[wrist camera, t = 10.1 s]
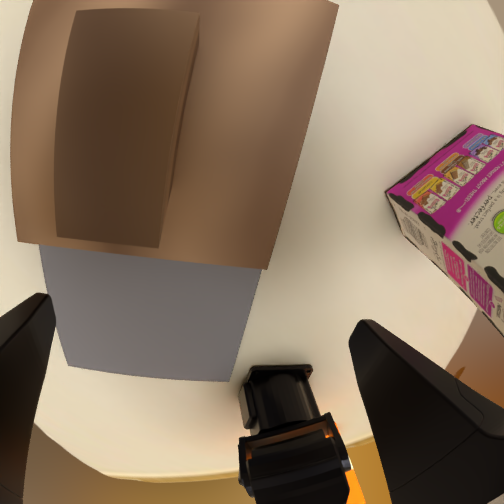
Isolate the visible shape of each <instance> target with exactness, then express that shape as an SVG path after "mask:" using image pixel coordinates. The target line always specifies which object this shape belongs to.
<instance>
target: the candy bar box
mask: <svg viewBox="0 0 504 504" xmlns="http://www.w3.org/2000/svg"><path fill="white" fill-rule="evenodd" d="M386 194H387V197H388V199H389V201H390V204H391V206H392V208H393V210H394V212H395V215H396V218H397V220H398V223H399V226H400V229H401V231H402V233H403V235H404V237H405V238H407V239H408V240H409V241H410V242H411V243H412V244H413V245H414V246H415V247H416V248H418V249H419V250H420V251H421V252H422V253H423V254H424V255H425V256H427V257H428V258H429V259H430V260H431V261H432V262H433V263H434V264H435V265H436V266H437V267H438V268H439V269H440V270H441V271H442V272H443V273H444V274H445V275H446V276H447V277H449V278H450V279H451V280H452V282H453V283H454V284H455V285H456V286H457V287H458V288H459V289H460V290H461V291H462V292H463V293H464V294H465V295H466V296H467V297H468V298H469V299H470V300H471V301H472V302H473V303H474V304H475V305H476V307H477V308H478V309H479V310H480V311H481V312H482V313H483V314H484V315H485V316H486V317H487V318H488V320H489V321H490V322H491V323H492V324H493V325H494V327H495V328H496V329H497V330H498V331H499V332H500V334H501V335H502V336H503V337H504V135H502V134H499V133H496V132H494V131H491V130H488V129H485V128H482V127H480V126H477V125H474V124H473V125H471V126H470V127H469V128H467V129H466V130H465V131H464V132H462V133H461V134H460V135H459V136H457V137H456V138H455V139H454V140H453V141H451V142H450V143H449V144H448V145H446V146H445V147H444V148H443V149H441V150H440V151H439V152H438V153H437V154H435V155H434V156H433V157H432V158H430V159H429V160H428V161H427V162H425V163H424V164H423V165H421V166H420V167H419V168H418V169H416V170H415V171H414V172H412V173H411V174H410V175H409V176H407V177H406V178H405V179H403V180H402V181H401V182H399V183H398V184H397V185H395V186H394V187H393V188H391V189H390V190H389V191H387V192H386Z"/></svg>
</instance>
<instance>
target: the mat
mask: <svg viewBox="0 0 504 504" xmlns="http://www.w3.org/2000/svg"><path fill="white" fill-rule="evenodd" d="M39 248H40V255H41V261H42V267H43V272H44V278H45V283H46V288H47V292H48V294H49V295H50V296H51V298H52V302H53V307H54V311H55V315H56V328H57V332H58V335H59V339H60V342H61V345H62V348H63V352H64V355H65V358H66V361H67V364H68V366H73V367H78V368H84V369H90V370H96V371H102V372H109V373H116V374H124V375H132V376H141V377H151V378H162V379H175V380H191V381H218V382H229V381H230V377H231V374H232V371H233V367H234V364H235V360H236V357H237V354H238V350H239V347H240V344H241V340H242V337H243V333H244V330H245V326H246V323H247V320H248V316H249V313H250V309H251V306H252V302H253V299H254V295H255V292H256V288H257V285H258V281H259V278H260V274H261V271H262V269H253V268H243V267H233V266H223V265H213V264H204V263H194V262H184V261H175V260H166V259H157V258H148V257H139V256H130V255H121V254H113V253H104V252H96V251H87V250H79V249H71V248H63V247H55V246H47V245H39Z"/></svg>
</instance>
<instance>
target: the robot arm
mask: <svg viewBox="0 0 504 504" xmlns="http://www.w3.org/2000/svg"><path fill="white" fill-rule="evenodd" d="M55 327H56V315H55V311H54V307H53V302H52V298H51V296H50V295H49V294H44V293H36V294H34V295H32V296H31V297H29V298H28V299H26V300H25V301H23V302H22V303H20V304H19V305H17V306H16V307H14V308H13V309H11V310H10V311H8V312H7V313H6V314H4V315H3V316H1V317H0V504H23V499H22V498H23V489H24V479H25V470H26V463H27V456H28V450H29V444H30V438H31V432H32V428H33V423H34V418H35V414H36V409H37V405H38V401H39V397H40V393H41V389H42V385H43V382H44V378H45V374H46V370H47V365H48V360H49V355H50V350H51V345H52V340H53V336H54V331H55ZM349 349H350V353H351V357H352V362H353V366H354V370H355V375H356V379H357V384H358V387H359V391H360V394H361V397H362V400H363V403H364V406H365V409H366V413H367V416H368V419H369V422H370V425H371V429H372V432H373V435H374V439H375V442H376V445H377V449H378V452H379V456H380V459H381V463H382V467H383V470H384V474H385V478H386V481H387V485H388V489H389V492H390V497H391V501H392V504H504V409H503V408H502V407H500V406H499V405H497V404H495V403H493V402H492V401H490V400H489V399H487V398H485V397H484V396H482V395H480V394H479V393H477V392H476V391H474V390H472V389H471V388H470V387H468V386H467V385H465V384H464V383H462V382H461V381H460V380H458V379H457V378H454V376H453V375H451V374H449V373H448V372H447V371H445V370H444V369H443V368H441V367H440V366H438V365H437V364H435V363H434V362H433V361H431V360H430V359H428V358H427V357H425V356H424V355H423V354H421V353H420V352H418V351H417V350H415V349H414V348H413V347H411V346H410V345H408V344H407V343H405V342H404V341H403V340H401V339H400V338H398V337H397V336H395V335H394V334H392V333H391V332H390V331H388V330H387V329H385V328H384V327H382V326H381V325H379V324H378V323H376V322H375V321H374V320H371V319H362V320H360V321H359V322H358V323H357V325H356V327H355V329H354V331H353V333H352V334H351V336H350V338H349ZM312 372H313V368H312V366H310V365H307V366H278V367H253V368H251V369H250V372H249V374H248V377H247V380H246V382H245V383H244V384H243V385H242V388H241V391H240V393H239V396H238V397H239V403H240V408H241V414H242V420H243V425H244V428H245V429H250V433H251V436H248V437H245V436H244V437H240V438H239V445H238V451H239V478H238V481H239V484H240V485H242V486H244V487H245V489H246V491H247V493H248V494H249V496H250V497H252V498H253V497H255V501H256V504H347V500H348V496H349V493H350V486H349V483H348V480H347V477H346V474H345V472H348V471H351V464H350V460H349V456H348V453H347V450H346V448H345V445H344V443H343V440H342V438H341V436H340V434H339V431H338V429H337V427H336V425H335V422H334V420H333V418H332V416H331V413H330V412H328V413H325V414H324V415H322V416H321V415H320V412H319V409H318V406H317V403H316V401H315V398H314V395H313V392H312V390H311V387H310V384H309V381H308V379H309V377H310V375H311V373H312ZM326 436H328V437H327V438H326Z"/></svg>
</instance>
